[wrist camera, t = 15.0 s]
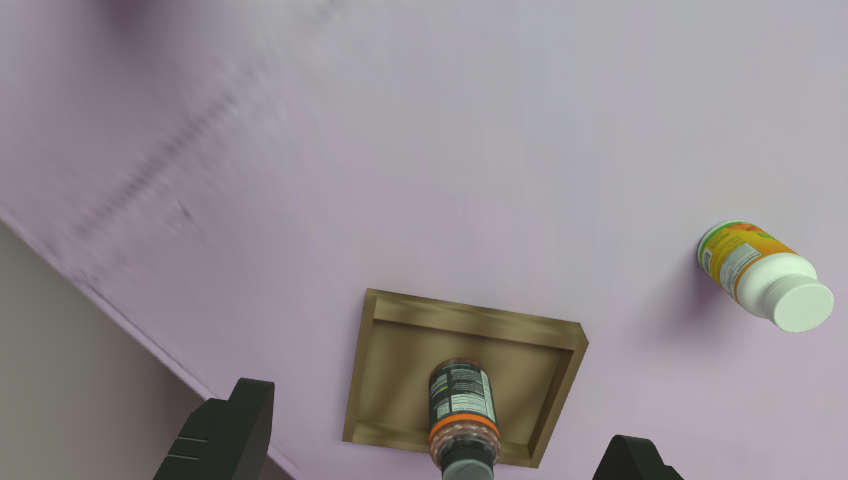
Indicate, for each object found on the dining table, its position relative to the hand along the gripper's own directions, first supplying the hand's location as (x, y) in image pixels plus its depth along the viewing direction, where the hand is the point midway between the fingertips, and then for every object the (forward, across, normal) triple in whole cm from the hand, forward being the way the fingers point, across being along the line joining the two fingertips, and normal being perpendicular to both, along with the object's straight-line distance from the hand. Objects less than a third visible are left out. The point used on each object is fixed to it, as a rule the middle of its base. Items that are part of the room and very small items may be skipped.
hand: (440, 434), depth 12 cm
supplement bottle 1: (+29, -7, +23) cm, 38 cm away
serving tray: (+30, -7, +23) cm, 39 cm away
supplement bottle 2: (+30, -27, +5) cm, 41 cm away
